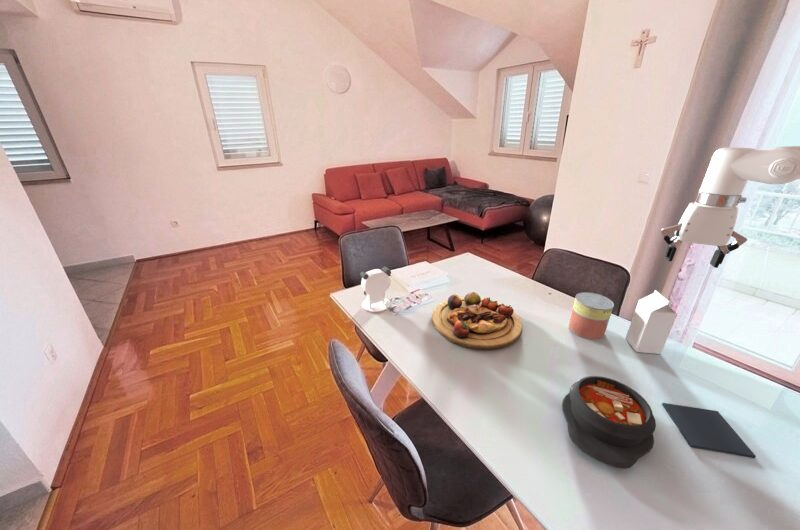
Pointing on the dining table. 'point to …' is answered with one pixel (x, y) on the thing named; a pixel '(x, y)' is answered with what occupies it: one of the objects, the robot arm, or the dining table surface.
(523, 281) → the dining table surface
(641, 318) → the milk carton
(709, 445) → the mat
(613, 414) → the casserole
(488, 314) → the wooden plate
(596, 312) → the canned food
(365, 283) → the panda figurine
